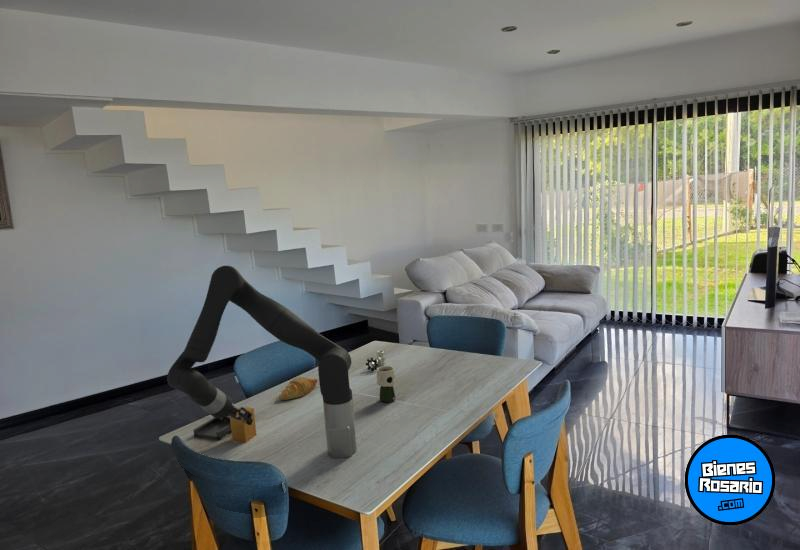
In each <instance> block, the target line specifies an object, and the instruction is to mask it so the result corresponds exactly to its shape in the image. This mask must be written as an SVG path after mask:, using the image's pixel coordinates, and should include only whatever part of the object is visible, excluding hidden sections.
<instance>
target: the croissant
mask: <svg viewBox="0 0 800 550" xmlns="http://www.w3.org/2000/svg"><path fill="white" fill-rule="evenodd" d="M317 383H318V379H315V378H306V377H296V378H294V379H293V378H292V379H291V380H290V382H289V383H288V384H287V385H286V387H285V389H283V390H282V391H281V394H279V395H278V399H279V400H280V401H287V400H293V399H298V398H302V397H304V396H306V395H308V394H310V392H311V391H312V390H314V388H315V387H316V386H317ZM301 396H302V397H301Z"/></svg>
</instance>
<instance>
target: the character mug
mask: <svg viewBox="0 0 800 550" xmlns="http://www.w3.org/2000/svg"><path fill="white" fill-rule="evenodd" d="M395 376H396V372H395V367H394V366H392V365H384V366H378V367H377V370H376V384H377V386H379V387H380V388H379V400H380V401H381V402H384V403H387V402H388V403H389V402H390V403H391V402H393V401H394V400H396V393H395V388H394V385H395V384H396V377H395Z"/></svg>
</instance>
